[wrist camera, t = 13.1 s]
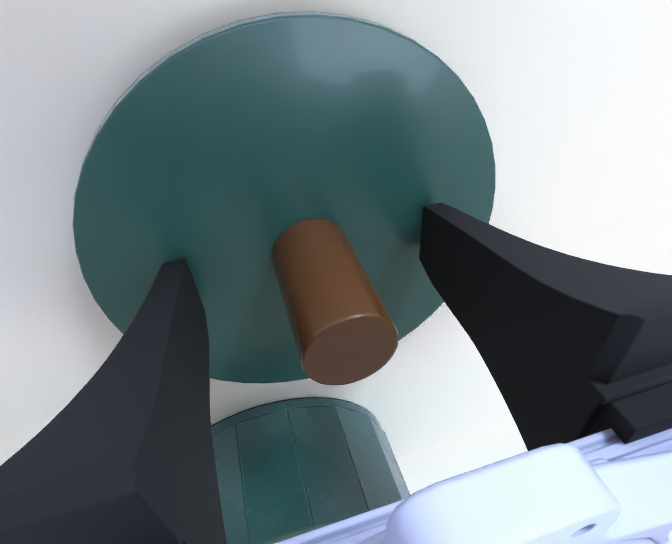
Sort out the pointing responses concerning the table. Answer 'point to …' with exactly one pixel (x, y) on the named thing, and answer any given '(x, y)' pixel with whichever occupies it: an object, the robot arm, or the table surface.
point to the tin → (301, 468)
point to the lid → (284, 190)
